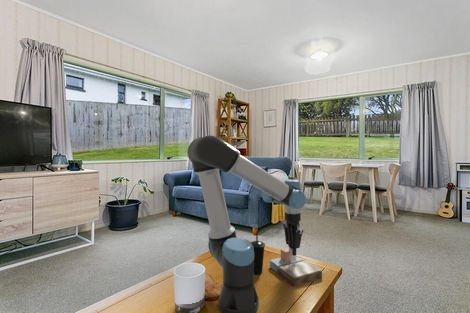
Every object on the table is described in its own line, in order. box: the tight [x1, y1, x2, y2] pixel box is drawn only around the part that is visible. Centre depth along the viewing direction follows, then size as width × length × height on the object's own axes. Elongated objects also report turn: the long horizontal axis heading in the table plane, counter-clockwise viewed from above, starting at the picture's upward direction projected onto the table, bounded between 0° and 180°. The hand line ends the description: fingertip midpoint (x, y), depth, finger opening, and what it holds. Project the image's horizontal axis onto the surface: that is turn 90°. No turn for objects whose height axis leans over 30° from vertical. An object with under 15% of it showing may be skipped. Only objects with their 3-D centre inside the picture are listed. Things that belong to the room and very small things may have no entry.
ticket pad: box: [277, 259, 323, 287], centre depth 113 cm, size 16×12×4 cm
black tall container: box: [250, 230, 266, 276], centre depth 116 cm, size 8×8×20 cm
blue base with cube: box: [269, 247, 304, 274], centre depth 122 cm, size 15×7×8 cm, turn 115°
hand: (292, 260), depth 117 cm, fingers closed
